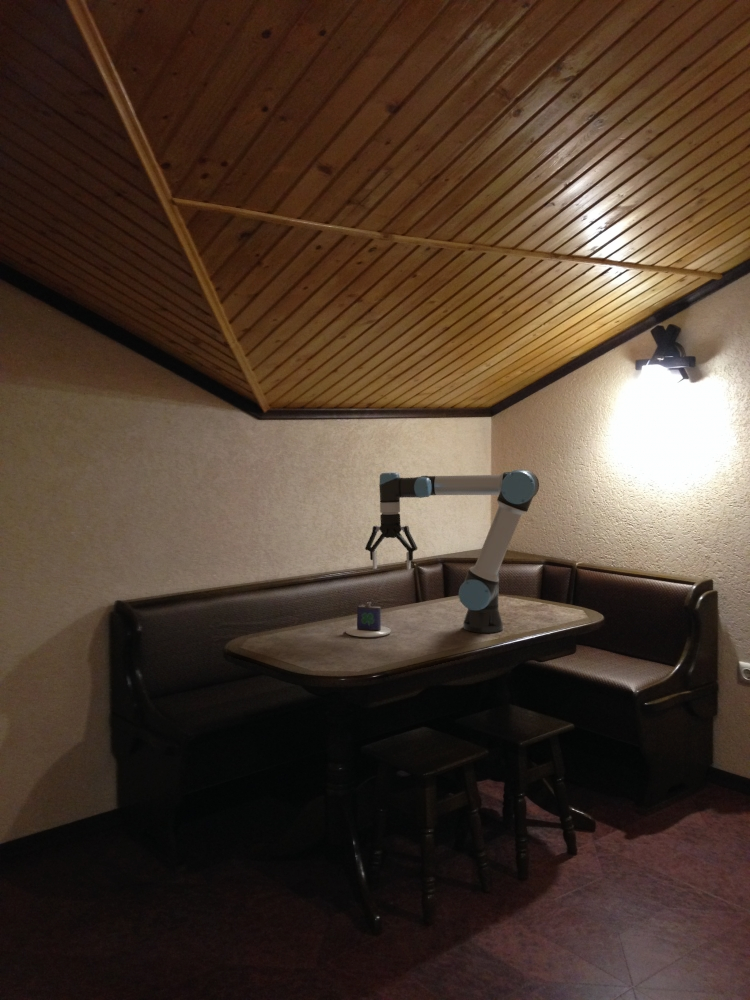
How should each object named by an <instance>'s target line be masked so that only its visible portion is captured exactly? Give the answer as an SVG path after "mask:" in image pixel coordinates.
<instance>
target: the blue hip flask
mask: <svg viewBox="0 0 750 1000" xmlns="http://www.w3.org/2000/svg"><path fill="white" fill-rule="evenodd" d="M371 604H372V602H371V601H368V602H366V604H361V605H357V609H356V610H357V611H356V612H357V613H356V614H357V615H356V626H357V630H364V631H380V630H381V626H382V620H381V619H382V615H381V613H382V607H381V606H372V605H371Z"/></svg>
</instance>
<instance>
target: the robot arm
mask: <svg viewBox="0 0 750 1000" xmlns="http://www.w3.org/2000/svg"><path fill="white" fill-rule="evenodd" d="M378 485H379V486H378V487H379V508H380V509H379V511H380V513H381V514H380V526H379V525H373V526H372V532H371V534H370V535H369V538H368V541H367V543H366V545H365V548H364V549H365V551H369V552H370V553H369V559H370V560H371V561H372V570H376V569H378V558H377V556H378V555H377V554H378V552H377V551H376V550H377V548H378V547H379V545H381V543H382V542H383V540H384V539H385V538H386V539H390V538H391V539H394V538H395V539H397V540H398V541H399V543H401V544H402V546H403V547H404V548H405V549H406V551H407V552H406V570H407V571H410V570H411V569H412V563H411V562H412V561H413V560H414V552H415V551H417V550H418V549H419V548H418V546H417V544H416V542H415V540H414V538H413V536H412V534H411V532H410V527H409V525H405V526H402V525H401V514H400V512H401V499H400V498H420V499H422V498H428V497H430V496H498V497H497V499H496V501H497V504H498V508H497V511H496V513H495V515H494V518H493V520H492V523H491V525H490V528H489V529H488V532H487V536H486V537H485V540H484V543H483V544H482V546H481V549H480V551H479V555H478V558H477V560H476V562H475V565H473V566H471V567H469V569H468V571H467V574H466V576H465V579H464V581H463V583H461V584H460V587H459V590H458V598H459V601H460V603H461V604H462V605H463V606H464V608H466V609H467V610H466V614H465V616H464V620H463V622H462V623H463V625H462V626H463V627H462V628H463V629H464V631H468V632H471V633H472V632H473V633H482V634H488V633H489V634H492V633H498V632H499V633H500V632H502V631H503V629H504V628H503V627H504V623H503V621H502V617H501V613H500V610H499V591H500V590H499V587H500V586H499V585H500V575H499V570H500V568H501V565H502V564H503V561H504V559H505V558H504V557H505V556H506V554H507V550H508V548H509V546H510V544H511V542H512V538H513V536H514V534H515V531H516V529H517V527H518V523H519V521H520V519H521V516H522V515H523V514H525V513H527V512H528V510H529V508H530V506H531V504H532V501H533V498H534V497H535V496H536V495H537V493H538V491H539V489H540V483H539V478H538V477H537V475H536V474H535V473H534V472H532V471H531V470H529V469H515V470H512V471H502V473H501V474H480V475H479V474H477V475H475V474H474V475H472V474H471V475H470V474H469V475H468V474H467V475H422V476H416V477H415V476H414V477H400V474H399V472H382V473H380V474H379V484H378ZM379 531H380V532H381V534H380V535H379V537H378V538H377V539H376V540H375V538H376V536H377V534H378V532H379ZM401 531H402V533H404V535H405V537H406V538H407V540H406V539H405V538H404V537H403V534H401ZM374 540H375V542H374ZM373 543H374V544H373Z"/></svg>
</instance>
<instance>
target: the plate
mask: <svg viewBox="0 0 750 1000" xmlns="http://www.w3.org/2000/svg"><path fill="white" fill-rule="evenodd" d="M391 632H392V629H391V628H389V627H387V626H384V625H381V630H380V631H364V630H357V625H354V626H349V627H347V628H345V633H346V634H347V635H350V636H354V637H359V638H379V637H383V636H387V635H389V634H392V633H391Z"/></svg>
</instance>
